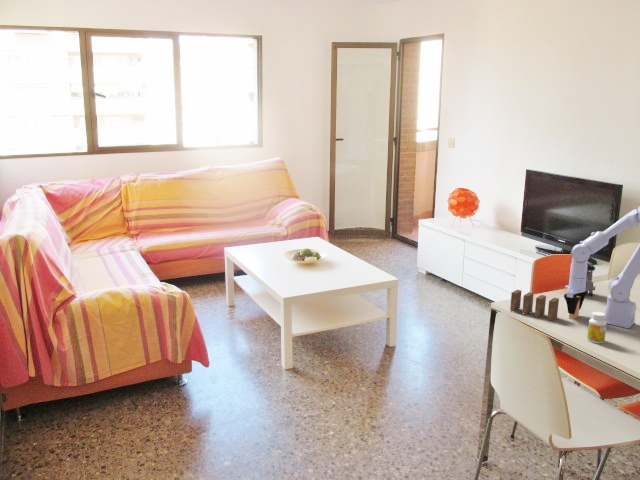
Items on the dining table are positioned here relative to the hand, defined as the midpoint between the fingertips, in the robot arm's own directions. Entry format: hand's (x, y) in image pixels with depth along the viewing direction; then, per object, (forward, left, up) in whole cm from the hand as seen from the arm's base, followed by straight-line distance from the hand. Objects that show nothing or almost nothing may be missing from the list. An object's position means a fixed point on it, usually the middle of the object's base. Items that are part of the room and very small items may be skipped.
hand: (574, 311), depth 226 cm
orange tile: (0, 0, -2) cm, 2 cm away
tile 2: (+5, +7, -2) cm, 9 cm away
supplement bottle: (-14, +18, -2) cm, 23 cm away
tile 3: (+10, +7, -2) cm, 13 cm away
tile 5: (+20, +7, -2) cm, 21 cm away
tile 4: (+15, +7, -2) cm, 17 cm away
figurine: (+6, -29, -2) cm, 29 cm away
